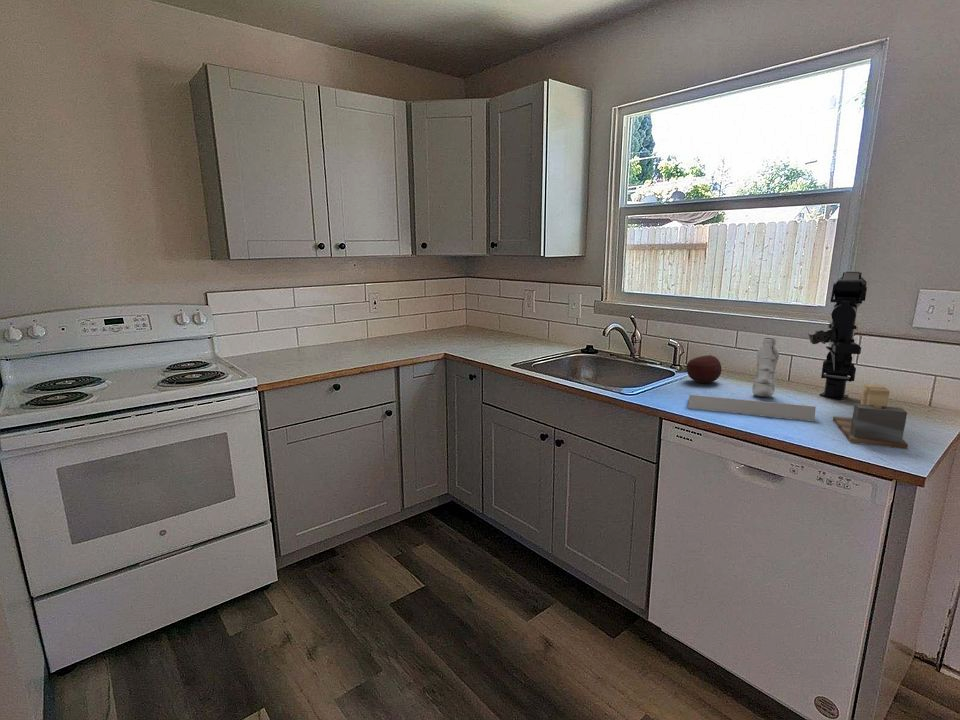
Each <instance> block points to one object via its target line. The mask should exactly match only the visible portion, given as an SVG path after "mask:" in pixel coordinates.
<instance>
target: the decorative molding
mask: <svg viewBox="0 0 960 720" xmlns="http://www.w3.org/2000/svg"><path fill="white" fill-rule="evenodd" d="M687 406H688V407H687V408H688V409H690V408H691V409H692V410H700V409H702V410H701V411H709V410H713V411H712V412H719V411H725V412H724V413H729V412H735V413H734V414H738V413H743V414H742V415H748V414H753V415H752V416H757V415H762V416H761V417H767V416H772V417H771V418H776V417H780V418H779V419H786V418H792V419H791V420H796V419H801V420H800V421H805V420H810V422H815V420H816V405H815V406H814V405H804V404H793V403H792V404H791V403H784V402H782V403H781V402H773V401H772V402H771V401H764V400H763V401H762V400H752V399H751V400H750V399H740V398H732V397H731V398H729V397H719V396H708V395H699V394H689V395H688V405H687ZM691 409H690V410H691Z"/></svg>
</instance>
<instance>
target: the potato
mask: <svg viewBox="0 0 960 720" xmlns="http://www.w3.org/2000/svg"><path fill="white" fill-rule="evenodd" d="M686 373H687V375H688V377H689V378H690V379H691V380H693V381H695V382H697V383H700V384H710V383H713V382H715V381H717V380H718V379H719V377H720V376H721V374H722V363H721V362H720V360H719V359H718V358H717V357H716V356H715V355H700V356H698V357H697V356H696V357H695V358H692V359H690V360H689V361H688V362H687V364H686Z"/></svg>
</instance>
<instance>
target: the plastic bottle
mask: <svg viewBox="0 0 960 720" xmlns="http://www.w3.org/2000/svg"><path fill="white" fill-rule="evenodd" d="M776 339H777V338H774V337H763V338H762V343H761V344H762V346H761V347H760V348H758V350H757V351H756V370H755V371H756V373H755V378H754V382H753V384H752V387H751V389H752V391H751V392H752V394H753V395H754V396H756V397H761V398H770V397H772V396H773V395H774V393H775V390H776V389H775V374H776V368H777V365H778V361H779V358H780V352H779V350H778V349H777V347H776V344H777V343H776V341H777V340H776Z"/></svg>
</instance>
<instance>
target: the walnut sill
mask: <svg viewBox="0 0 960 720" xmlns="http://www.w3.org/2000/svg"><path fill="white" fill-rule="evenodd" d="M907 415H908V412H907V411H906V410H905V409H904V408H902V407H898V406H888V405H887V406H882V408H876V407H874V406H873V405H865V404H861V403H854V405H853V412H852V417H843V416H835V415H833V417H832V421H833V423H834V424H835V425H836V426H837V429H839V430H840V432H841V433H842V434H843V435H844V437H845V436H846V437H845V438H846V439H847V441H848V442H849V443H851V442H852V443H853V444H860V443H862V444H863V445H869V444H871V445H872V446H877V445H880V446H879V447H887V448H888V447H889V448H895V447H896V449H904V450H905V449H906V450H908V448H909V443H907V442H906V441H905V440H904V439H903V438H904V433H905V427H906V421H907ZM862 444H861V445H862ZM871 445H870V446H871Z"/></svg>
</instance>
